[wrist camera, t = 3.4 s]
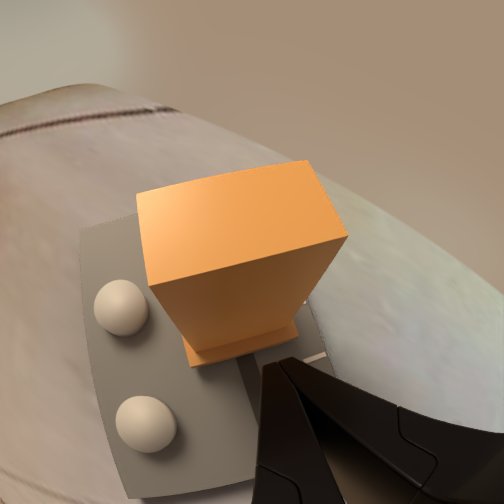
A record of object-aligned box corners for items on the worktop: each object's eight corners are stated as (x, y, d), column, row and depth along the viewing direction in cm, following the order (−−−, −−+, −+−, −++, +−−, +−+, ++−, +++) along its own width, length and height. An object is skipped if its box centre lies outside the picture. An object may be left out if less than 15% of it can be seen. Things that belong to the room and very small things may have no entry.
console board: (349, 436, 13) (365, 440, 11) (135, 493, 11) (122, 504, 9) (258, 197, 20) (261, 175, 18) (86, 239, 18) (73, 221, 16)
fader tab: (295, 339, 14) (374, 254, 6) (192, 368, 13) (134, 318, 5) (272, 274, 16) (311, 143, 8) (175, 300, 15) (120, 180, 7)
